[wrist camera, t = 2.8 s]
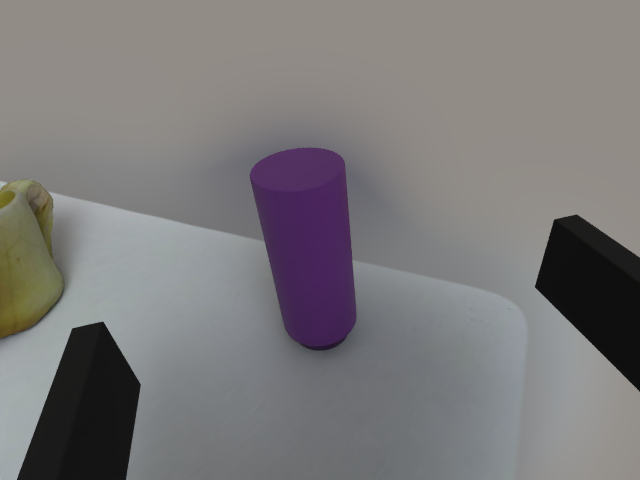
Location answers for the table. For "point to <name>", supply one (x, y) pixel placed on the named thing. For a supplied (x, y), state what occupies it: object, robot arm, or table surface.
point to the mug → (26, 256)
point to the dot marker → (308, 242)
